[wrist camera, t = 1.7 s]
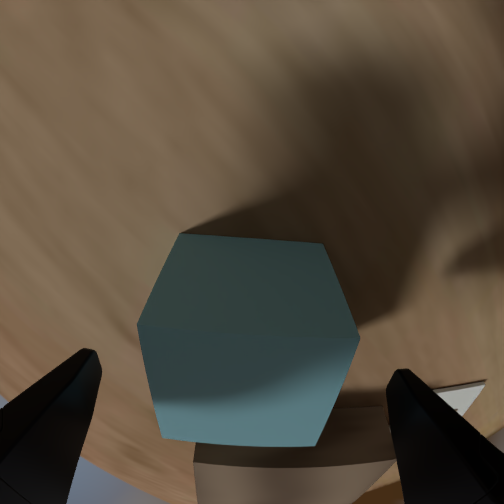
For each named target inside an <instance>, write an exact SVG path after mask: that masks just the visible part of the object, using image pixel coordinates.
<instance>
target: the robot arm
mask: <svg viewBox="0 0 504 504" xmlns="http://www.w3.org/2000/svg"><path fill="white" fill-rule="evenodd" d="M101 377H102V368H101V364H100V361H99V358H98V355H97V352H96V351H95V350H92V349H87V348H83V349H81V350H79V351H78V352H77V353H75V354H74V355H72V356H71V357H70V358H68V359H67V360H66V361H64V362H63V363H61V364H60V365H59V366H57V367H56V368H55V369H53V370H52V371H51V372H49V373H48V374H46V375H45V376H44V377H42V378H41V379H40V380H38V381H37V382H36V383H34V384H33V385H32V386H30V387H29V388H28V389H26V390H25V391H24V392H22V393H21V394H20V395H18V396H17V397H15V398H14V399H13V400H11V401H10V402H9V403H7V404H6V405H5V406H4V407H3V408H1V409H0V504H66V503H67V499H68V495H69V491H70V488H71V484H72V480H73V477H74V473H75V470H76V467H77V463H78V460H79V457H80V453H81V450H82V447H83V444H84V441H85V438H86V435H87V432H88V428H89V425H90V422H91V419H92V416H93V412H94V407H95V402H96V398H97V394H98V389H99V385H100V381H101ZM386 397H387V404H388V413H389V421H390V430H391V436H392V441H393V446H394V450H395V455H396V460H397V465H398V470H399V475H400V480H401V485H402V491H403V497H404V502H405V504H504V453H503V452H501V451H500V450H499V449H498V448H496V447H495V446H494V445H493V444H492V443H491V442H490V441H488V440H487V439H486V438H485V437H484V436H483V435H480V432H478V431H477V430H476V429H475V428H474V427H473V426H472V425H471V424H470V423H469V422H467V421H466V420H465V419H464V418H463V417H462V416H461V415H460V414H459V413H458V412H456V411H455V410H454V409H453V408H452V407H451V406H450V405H449V404H448V403H446V402H445V401H444V400H443V399H442V398H441V397H440V396H439V395H438V394H436V393H435V392H434V391H433V390H432V389H431V388H430V387H429V386H427V385H426V384H425V383H424V382H423V381H422V380H421V379H420V378H419V377H417V376H416V375H415V374H414V373H413V372H412V371H411V370H409V369H397V370H396V371H395V372H394V374H393V376H392V378H391V379H390V381H389V383H388V385H387V388H386Z"/></svg>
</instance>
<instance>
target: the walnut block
mask: <svg viewBox="0 0 504 504" xmlns="http://www.w3.org/2000/svg"><path fill="white" fill-rule="evenodd" d="M396 461H397V460H396V455H395V450H394V446H393V441H392V436H391V432H390V429H389V426H388V422H387V419H386V416H385V413H384V410H383V406H375V407H358V408H332V410H331V413H330V415H329V417H328V419H327V422H326V424H325V426H324V428H323V430H322V432H321V435H320V437H319V439H318V441H317V443H316V445H315V446H303V447H260V446H237V445H222V444H210V443H200V442H196V445H195V453H194V460H193V465H194V475H195V484H196V493H197V501H198V504H352V503H353V502H354V501H355V500H356V499H357V498H358V497H360V496H361V495H362V494H363V493H364V492H365V491H366V490H367V489H369V488H370V487H371V486H372V485H373V484H374V483H375V482H376V481H377V480H378V479H379V478H380V477H381V476H382V475H383V474H384V473H385V472H386V471H387V470H388V469H389V468H390V467H391V466H392V465H393V464H394V463H395V462H396Z"/></svg>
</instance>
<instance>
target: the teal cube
mask: <svg viewBox="0 0 504 504" xmlns="http://www.w3.org/2000/svg"><path fill="white" fill-rule="evenodd" d="M137 328H138V334H139V339H140V345H141V350H142V355H143V360H144V365H145V369H146V374H147V379H148V383H149V388H150V392H151V396H152V400H153V404H154V408H155V412H156V416H157V420H158V424H159V428H160V431H161V435H162V438H168V439H175V440H182V441H191V442H200V443H210V444H222V445H237V446H260V447H303V446H315V445H316V443H317V441H318V439H319V437H320V435H321V432H322V430H323V428H324V426H325V424H326V422H327V419H328V417H329V415H330V413H331V410H332V408H333V406H334V404H335V401H336V399H337V397H338V394H339V392H340V389H341V387H342V385H343V382H344V380H345V377H346V375H347V372H348V370H349V367H350V365H351V362H352V359H353V357H354V354H355V351H356V349H357V346H358V343H359V341H360V336H359V333H358V330H357V328H356V325H355V322H354V320H353V317H352V314H351V312H350V309H349V307H348V304H347V302H346V299H345V296H344V294H343V291H342V289H341V286H340V284H339V281H338V279H337V276H336V274H335V272H334V269H333V267H332V264H331V262H330V259H329V257H328V255H327V252H326V250H325V248H324V245H323V244H321V243H309V242H296V241H282V240H269V239H255V238H241V237H227V236H213V235H198V234H183V233H179V235H178V237H177V239H176V241H175V243H174V246H173V248H172V250H171V252H170V254H169V256H168V258H167V260H166V262H165V264H164V266H163V268H162V270H161V272H160V275H159V277H158V279H157V281H156V283H155V285H154V287H153V289H152V292H151V294H150V296H149V298H148V300H147V303H146V305H145V307H144V309H143V311H142V314H141V316H140V318H139V320H138V323H137Z"/></svg>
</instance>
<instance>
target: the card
mask: <svg viewBox="0 0 504 504" xmlns="http://www.w3.org/2000/svg"><path fill="white" fill-rule="evenodd" d="M485 385H486V384H485V383H484V381H483V382H478V383H472V384H467V385H461V386H455V387H449V388H442V389H435V390H433V391H434V392H435V393H436V394H438V395H439V396H440V397H441V398H442V399H443V400H444V401H445V402H446V403H448V404H449V405H450V406H451V407H452V408H453V409H454V410H455V411H456V412H458V413H459V414H460V415H461V416H463V414H464V413H465V412H466V410H467V409H468V408H469V407H470V405H471V404H472V403H473V401H474V400H475V399H476V397H477V396H478V394H479V393H480V392H481V390H482V389H483V387H484V386H485ZM389 429H390V425H389ZM390 432H391V430H390Z"/></svg>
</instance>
